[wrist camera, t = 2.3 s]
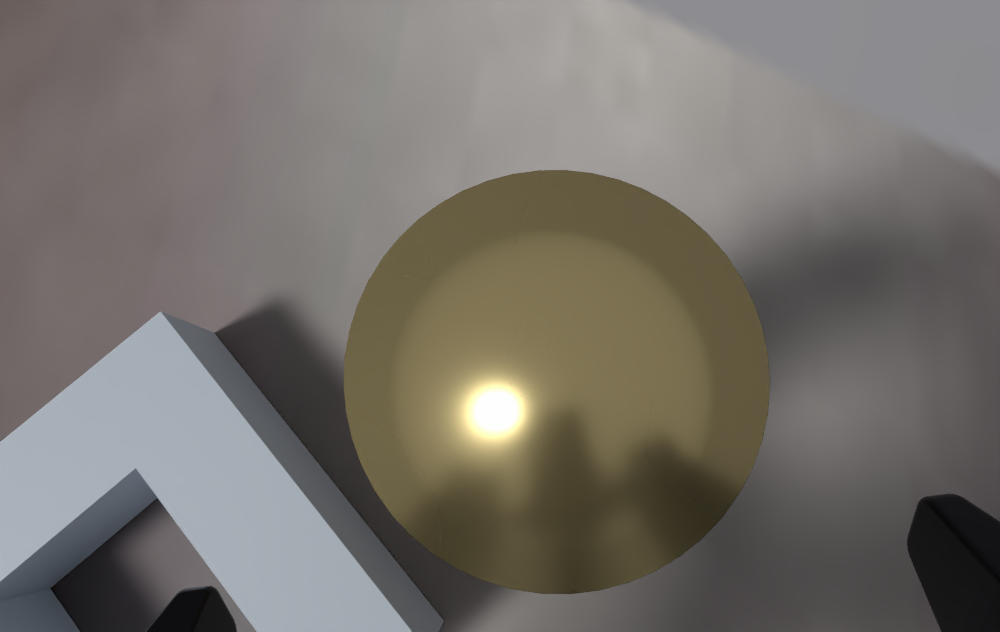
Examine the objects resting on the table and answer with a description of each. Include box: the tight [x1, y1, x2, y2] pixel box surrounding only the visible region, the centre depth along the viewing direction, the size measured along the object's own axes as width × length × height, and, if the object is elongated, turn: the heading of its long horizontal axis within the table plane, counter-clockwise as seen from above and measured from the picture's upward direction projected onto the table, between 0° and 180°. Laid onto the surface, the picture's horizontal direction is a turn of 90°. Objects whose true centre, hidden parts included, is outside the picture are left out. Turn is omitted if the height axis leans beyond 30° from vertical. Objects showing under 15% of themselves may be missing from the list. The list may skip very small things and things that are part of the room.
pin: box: [344, 170, 770, 594], centre depth 13 cm, size 3×3×14 cm
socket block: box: [0, 311, 444, 632], centre depth 18 cm, size 10×10×3 cm
